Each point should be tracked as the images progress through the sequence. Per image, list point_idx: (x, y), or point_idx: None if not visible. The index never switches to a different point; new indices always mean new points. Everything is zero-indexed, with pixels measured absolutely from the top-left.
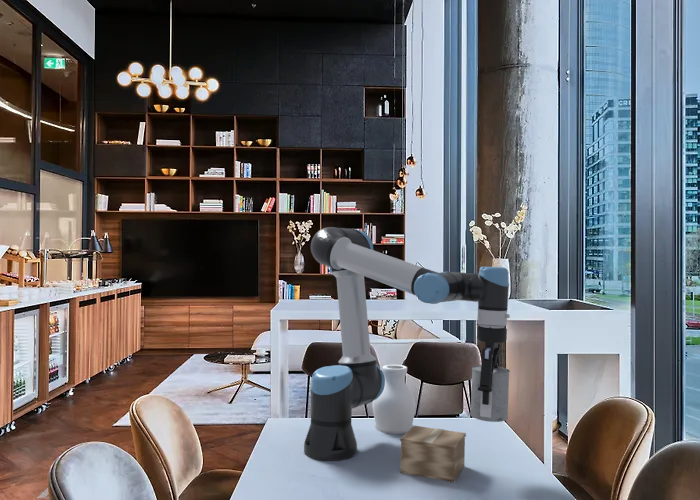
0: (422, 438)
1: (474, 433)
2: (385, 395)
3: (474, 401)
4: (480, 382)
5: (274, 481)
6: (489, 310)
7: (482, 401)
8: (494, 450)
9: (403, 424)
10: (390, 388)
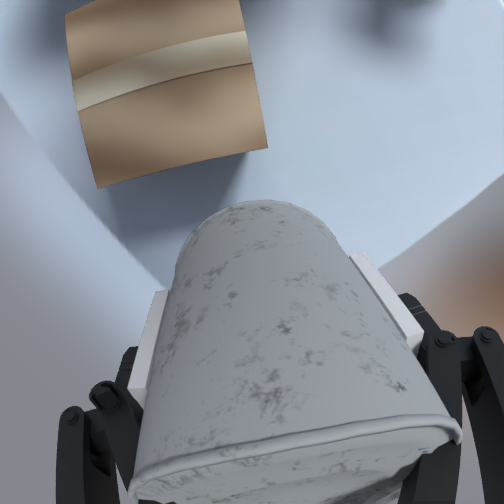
0: (103, 57)
1: (480, 97)
2: None
3: (176, 285)
4: (59, 445)
5: None
6: None
7: (122, 359)
8: (406, 167)
9: None
10: None
